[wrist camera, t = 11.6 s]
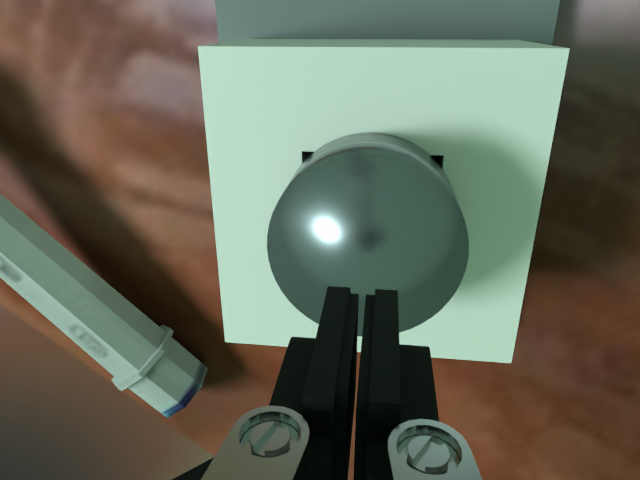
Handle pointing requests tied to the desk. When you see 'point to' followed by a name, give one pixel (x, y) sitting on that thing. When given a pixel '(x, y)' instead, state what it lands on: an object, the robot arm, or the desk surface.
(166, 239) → the desk surface
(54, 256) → the white flashlight
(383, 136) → the steel pin
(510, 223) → the hitch block
